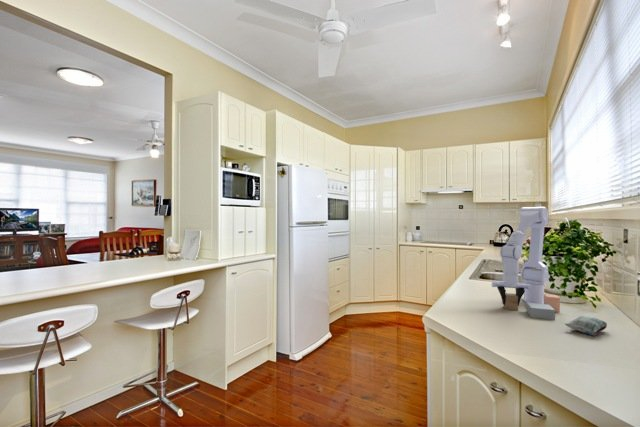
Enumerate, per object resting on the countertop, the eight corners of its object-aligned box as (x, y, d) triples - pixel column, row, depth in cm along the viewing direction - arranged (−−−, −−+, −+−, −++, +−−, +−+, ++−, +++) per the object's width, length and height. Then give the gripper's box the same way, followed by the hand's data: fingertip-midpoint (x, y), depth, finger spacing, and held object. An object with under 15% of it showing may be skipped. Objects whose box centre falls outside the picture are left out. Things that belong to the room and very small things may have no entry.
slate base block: (526, 312, 136) (526, 302, 136) (549, 314, 133) (549, 304, 133) (530, 317, 129) (530, 307, 129) (555, 320, 126) (555, 309, 126)
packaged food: (564, 331, 114) (565, 317, 114) (577, 324, 120) (578, 311, 120) (596, 339, 106) (596, 324, 106) (608, 332, 113) (608, 318, 113)
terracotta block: (543, 308, 141) (543, 294, 141) (555, 309, 140) (555, 295, 140) (547, 311, 137) (547, 296, 137) (559, 312, 135) (559, 297, 135)
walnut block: (503, 306, 143) (503, 292, 143) (515, 307, 142) (515, 293, 142) (505, 309, 139) (505, 295, 139) (517, 310, 138) (517, 296, 138)
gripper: (493, 273, 139) (493, 305, 139) (532, 275, 134) (532, 308, 134) (490, 271, 146) (490, 301, 146) (527, 272, 141) (527, 304, 141)
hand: (510, 304), depth 140 cm, fingers closed on walnut block, 4 cm apart
